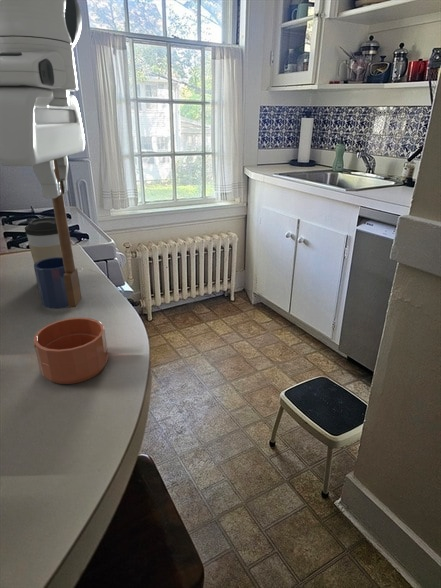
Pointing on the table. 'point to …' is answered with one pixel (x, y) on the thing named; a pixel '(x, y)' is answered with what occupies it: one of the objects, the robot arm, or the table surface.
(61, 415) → the table surface
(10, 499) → the table surface
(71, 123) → the robot arm
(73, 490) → the table surface
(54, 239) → the coffee cup
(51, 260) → the crock
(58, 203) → the wooden stirring stick
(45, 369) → the bowl
